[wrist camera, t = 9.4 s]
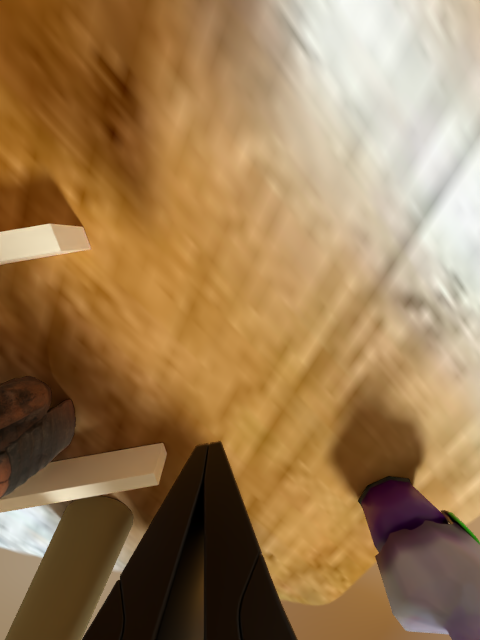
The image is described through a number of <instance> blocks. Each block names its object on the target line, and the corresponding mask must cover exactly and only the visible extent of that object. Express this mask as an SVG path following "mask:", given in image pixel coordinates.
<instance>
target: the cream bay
mask: <svg viewBox="0 0 480 640" xmlns="http://www.w3.org/2000/svg"><path fill="white" fill-rule="evenodd" d="M89 249H91V247H90V244H89V241H88V239H87V236H86V233H85V231H84V228H83V227H80V226H70V225H59V224H44V225H38V226H32V227H27V228H21V229H15V230H9V231H3V232H0V265H1V264H7V263H13V262H19V261H25V260H31V259H36V258H42V257H48V256H54V255H60V254H66V253H72V252H78V251H83V250H89ZM166 456H167V452H166V449H165V447H164V444H163V443H159V444H153V445H147V446H141V447H136V448H130V449H124V450H118V451H113V452H107V453H101V454H95V455H90V456H84V457H78V458H72V459H67V460H61V461H55V462H50V463H48V464H47V466H46V467H44V468H43V469H42V470H41V471H39V472H37V473H36V474H35V475H33V476H32V477H30V478H29V479H28V480H27V481H26V482H25V483H24V484H22V485H20V486H19V487H17V488H15V490H14V491H13V492H12V493H10V494H8V495H6V496H4V497H2V498H1V499H0V513H1V512H6V511H12V510H18V509H24V508H29V507H35V506H41V505H46V504H52V503H58V502H64V501H69V500H75V499H81V498H86V497H92V496H98V495H104V494H109V493H115V492H121V491H127V490H132V489H138V488H144V487H149V486H155V485H159V481H160V478H161V474H162V470H163V467H164V463H165V459H166Z"/></svg>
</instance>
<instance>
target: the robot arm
mask: <svg viewBox="0 0 480 640" xmlns="http://www.w3.org/2000/svg"><path fill="white" fill-rule="evenodd" d="M82 640H297V637H296V635H295V633H294V631H293V628H292V626H291V624H290V622H289V620H288V617H287V615H286V613H285V611H284V608H283V606H282V604H281V601H280V599H279V596H278V594H277V591H276V589H275V586H274V584H273V581H272V579H271V576H270V573H269V571H268V568H267V565H266V562H265V560H264V557H263V555H262V552H261V549H260V546H259V544H258V541H257V538H256V535H255V533H254V530H253V527H252V524H251V522H250V519H249V516H248V514H247V511H246V508H245V505H244V503H243V500H242V497H241V494H240V492H239V489H238V486H237V483H236V481H235V478H234V475H233V472H232V470H231V467H230V464H229V461H228V459H227V456H226V453H225V450H224V448H223V445H222V443H221V442H220V441H218V442H212V443H210V444H201V445H197V446H196V447H195V449H194V451H193V452H192V454H191V456H190V457H189V459H188V461H187V463H186V464H185V466H184V468H183V469H182V471H181V473H180V475H179V476H178V478H177V480H176V481H175V483H174V485H173V486H172V488H171V490H170V492H169V493H168V495H167V497H166V498H165V500H164V502H163V504H162V505H161V507H160V509H159V510H158V512H157V514H156V516H155V517H154V519H153V521H152V522H151V524H150V526H149V527H148V529H147V531H146V533H145V534H144V536H143V538H142V539H141V541H140V543H139V545H138V546H137V548H136V550H135V551H134V553H133V555H132V557H131V558H130V560H129V562H128V563H127V565H126V567H125V568H124V570H123V572H122V574H121V576H120V580H118V581H117V582H116V584H115V585H114V587H113V589H112V591H111V592H110V594H109V596H108V597H107V599H106V601H105V603H104V604H103V606H102V607H101V609H100V611H99V612H98V614H97V616H96V617H95V619H94V621H93V622H92V624H91V626H90V627H89V629H88V630H87V632H86V634H85V635H84V637H83V639H82Z"/></svg>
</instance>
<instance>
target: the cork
mask: <svg viewBox="0 0 480 640" xmlns="http://www.w3.org/2000/svg"><path fill="white" fill-rule="evenodd" d="M132 525H133V515H132V512H131V510H130V509H129V508H128V507H127V506H126V505H125V504H123V503H121V502H119V501H118V500H115V499H112V498H109V497H103V496H92V497H86V498H81V499H77V500H75V501H73V502H72V503H71V504H69V505H68V506H67V508H66V510H65V512H64V514H63V516H62V518H61V520H60V522H59V524H58V527H57V529H56V531H55V533H54V535H53V537H52V540H51V542H50V544H49V546H48V548H47V550H46V552H45V555H44V557H43V559H42V561H41V563H40V566H39V568H38V570H37V572H36V574H35V576H34V578H33V580H32V583H31V585H30V587H29V589H28V591H27V593H26V596H25V598H24V600H23V602H22V604H21V606H20V608H19V611H18V613H17V615H16V617H15V619H14V621H13V623H12V625H11V628H10V630H9V632H8V634H7V636H6V639H5V640H81V639H82V636H83V634H84V632H85V630H86V628H87V625H88V623H89V621H90V619H91V617H92V614H93V612H94V610H95V608H96V605H97V603H98V601H99V599H100V596H101V594H102V592H103V590H104V587H105V585H106V583H107V581H108V578H109V576H110V574H111V572H112V569H113V567H114V565H115V563H116V560H117V558H118V556H119V554H120V551H121V549H122V547H123V545H124V542H125V540H126V538H127V536H128V534H129V531H130V529H131V527H132Z"/></svg>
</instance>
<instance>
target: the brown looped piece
mask: <svg viewBox="0 0 480 640" xmlns="http://www.w3.org/2000/svg"><path fill="white" fill-rule="evenodd" d="M51 400H52V395H51V389H50V387H49V386H48V385H46V384H45V383H43V382H42V381H40V380H38V379H36V378H33V377H31V376H26V377H22V378H17V379H12V380H10V381H8V382H5V383H3V384H0V499H1V498H2V497H4V496H6V495H8V494H10V493H12V492H13V491H14V490H15V488H17V487H19V486H20V485H22V484H24V483H25V482H26V481H27V480H28V479H29V478H30V477H32V476H33V475H35V474H36V473H37V472H39V471H41V470H42V469H43V468H44V467H46V466H47V464H48V463H50V462H51V461H52V459H53V458H55V457H56V456H57V455H58V454H59V453H60V452H61V451H63V450H64V449H66V448H67V447H68V445H69V444H70V443H71V440H72V438H73V436H74V430H75V426H76V424H75V422H76V418H75V414H74V407H73V404H72V401H71V400H65V401H63V402H62V403H61V404H59V405H58V406H57V407H54V408H51V409H49V407H50V404H51ZM48 409H49V410H48Z"/></svg>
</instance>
